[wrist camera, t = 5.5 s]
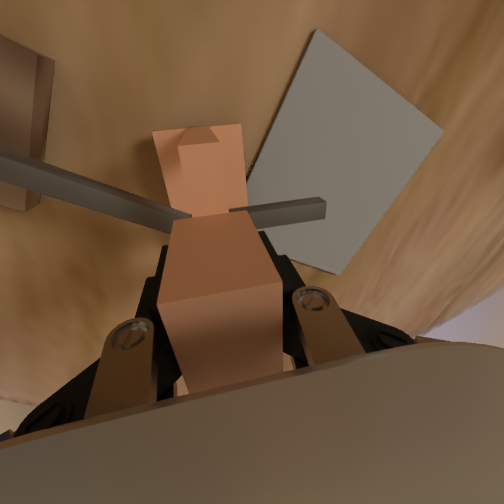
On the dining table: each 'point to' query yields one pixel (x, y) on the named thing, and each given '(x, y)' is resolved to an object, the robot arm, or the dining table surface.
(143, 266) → the dining table surface
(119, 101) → the dining table surface
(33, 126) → the stand
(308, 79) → the mat
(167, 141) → the orange block
